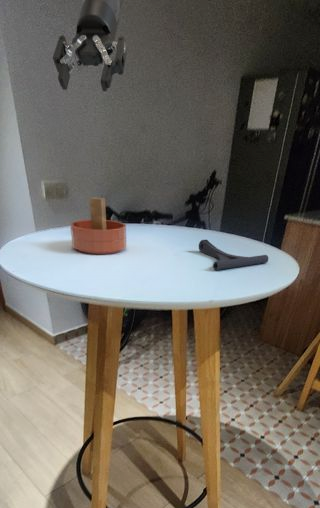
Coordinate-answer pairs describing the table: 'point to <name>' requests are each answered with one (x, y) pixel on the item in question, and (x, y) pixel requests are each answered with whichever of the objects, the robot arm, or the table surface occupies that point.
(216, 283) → the table surface
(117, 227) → the bowl
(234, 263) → the dark branching pipe
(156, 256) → the table surface
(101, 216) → the wooden block on stand
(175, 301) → the table surface
